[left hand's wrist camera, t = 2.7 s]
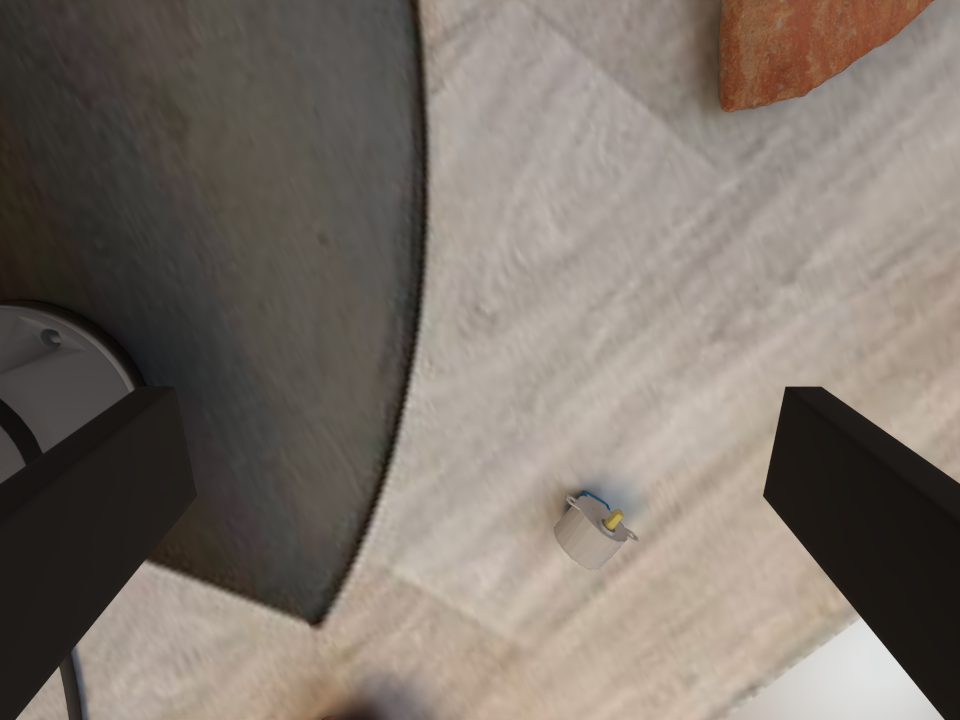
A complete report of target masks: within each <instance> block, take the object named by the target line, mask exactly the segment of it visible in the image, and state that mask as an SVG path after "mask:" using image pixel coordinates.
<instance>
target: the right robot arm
mask: <svg viewBox="0 0 960 720" xmlns="http://www.w3.org/2000/svg"><path fill="white" fill-rule="evenodd" d="M138 387H146V386H145V384H144V382H143V379H142V377H141V375H140V373H139V372H138V370H137V368H136V366H135V365H134V363H133V362H132V360H131V359H130V358H129V356H128V355H127V354H126V353H125V351H124V350H123V349H122V348H121V347H120V346H119V345H118V344H117V343H116V342H115V341H114V340H113V339H112V338H111V337H110V336H109V335H108V334H106V333H105V332H104V331H103V330H101V329H100V328H99V327H97V326H96V325H94V324H93V323H91V322H90V321H88V320H86V319H84V318H83V317H81V316H79V315H77V314H75V313H73V312H71V311H68V310H65V309H63V308H60V307H57V306H54V305H50V304H46V303H41V302H36V301H27V300H12V301H2V302H0V484H1V483H2V482H3V481H5V480H6V479H8V478H9V477H11V476H12V475H13V474H15V473H16V472H18V471H19V470H21V469H22V468H23V467H25V466H26V465H28V464H29V463H31V462H32V461H33V460H35V459H36V458H38V457H39V456H41V455H42V454H43V453H45V452H46V451H48V450H49V449H51V448H52V447H53V446H55V445H56V444H58V443H59V442H61V441H62V440H63V439H65V438H66V437H68V436H69V435H71V434H72V433H73V432H75V431H76V430H78V429H79V428H81V427H82V426H83V425H85V424H86V423H88V422H89V421H90V420H92V419H93V418H95V417H96V416H98V415H99V414H100V413H102V412H103V411H105V410H106V409H108V408H109V407H110V406H112V405H113V404H115V403H116V402H118V401H119V400H120V399H122V398H123V397H125V396H126V395H128V394H129V393H130V392H132V391H133V390H135V389H136V388H138ZM59 668H60V672H61V676H62V681H63V686H64V691H65V697H66V703H67V710H68V716H69V720H82V718H81V710H80V703H79V697H78V690H77V684H76V679H75V674H74V669H73V665H72V660H71V656H70V653H69V654H68V655H67V657H66V658H65V659H64V660H63V662H62V663H61V664H60V665H59Z"/></svg>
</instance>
